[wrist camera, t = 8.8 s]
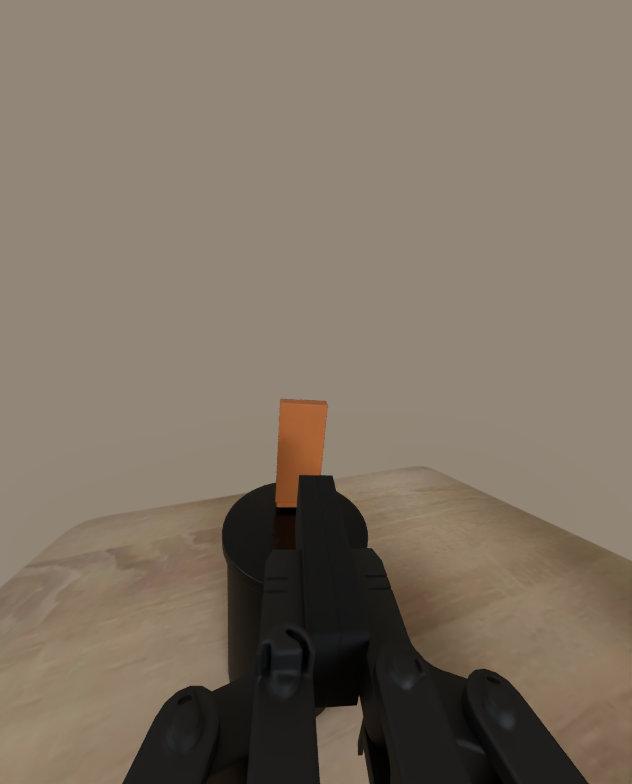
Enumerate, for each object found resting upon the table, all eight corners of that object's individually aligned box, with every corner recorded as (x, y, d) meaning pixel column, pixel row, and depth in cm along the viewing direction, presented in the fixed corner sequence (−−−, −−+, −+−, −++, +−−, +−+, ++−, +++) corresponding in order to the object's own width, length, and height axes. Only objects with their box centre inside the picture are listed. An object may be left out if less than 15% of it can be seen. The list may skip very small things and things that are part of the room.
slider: (317, 507, 21) (327, 404, 19) (274, 507, 21) (280, 402, 19) (313, 480, 24) (322, 389, 22) (276, 480, 24) (280, 387, 22)
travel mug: (358, 729, 20) (388, 586, 16) (210, 742, 19) (204, 591, 15) (335, 593, 29) (351, 481, 25) (234, 597, 28) (234, 479, 24)
